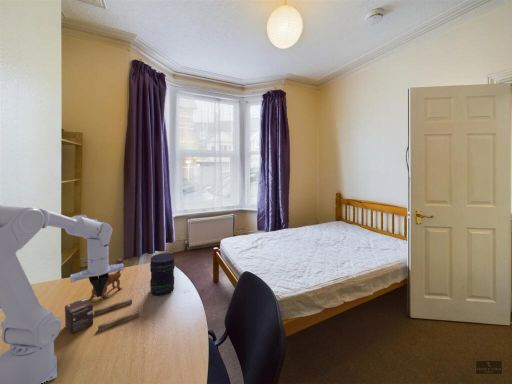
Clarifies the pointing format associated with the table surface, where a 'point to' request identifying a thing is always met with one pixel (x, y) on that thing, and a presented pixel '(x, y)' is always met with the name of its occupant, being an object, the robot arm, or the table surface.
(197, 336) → the table surface
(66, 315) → the box
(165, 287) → the storage jar
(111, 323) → the shelf lane
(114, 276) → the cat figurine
